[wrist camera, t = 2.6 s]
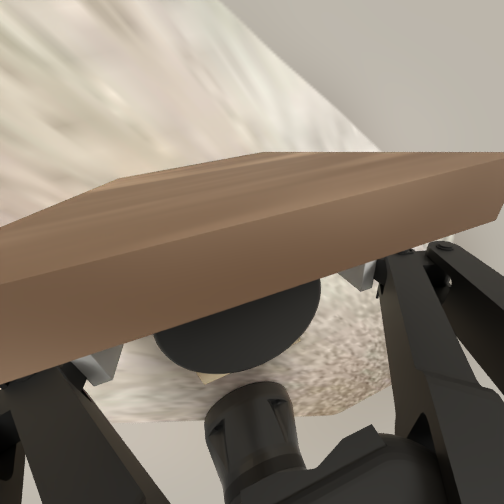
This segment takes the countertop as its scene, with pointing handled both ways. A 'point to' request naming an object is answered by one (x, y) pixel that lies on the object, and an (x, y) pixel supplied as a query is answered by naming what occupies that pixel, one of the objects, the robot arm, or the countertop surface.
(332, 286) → the countertop surface
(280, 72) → the countertop surface
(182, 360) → the jar
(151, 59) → the countertop surface
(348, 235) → the rack
